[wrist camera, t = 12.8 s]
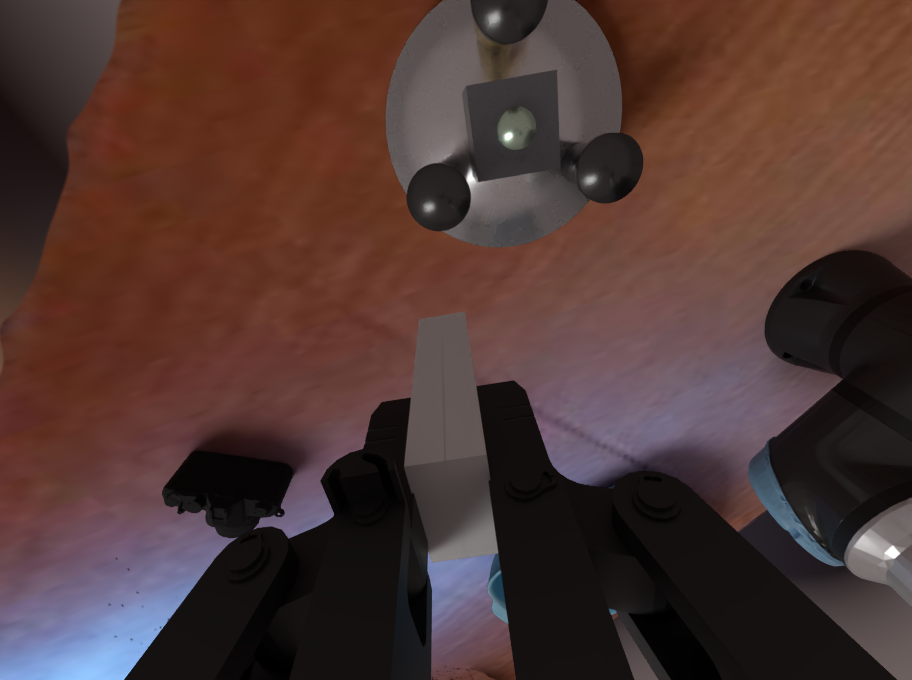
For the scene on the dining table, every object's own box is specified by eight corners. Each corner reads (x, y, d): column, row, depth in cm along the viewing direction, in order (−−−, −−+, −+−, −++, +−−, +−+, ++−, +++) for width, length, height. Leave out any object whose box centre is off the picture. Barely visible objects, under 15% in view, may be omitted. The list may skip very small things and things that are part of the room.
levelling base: (616, -37, 34) (679, -99, 25) (611, 224, 44) (655, 247, 35) (362, 10, 35) (336, -33, 26) (413, 257, 45) (407, 287, 36)
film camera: (189, 494, 60) (150, 550, 52) (186, 444, 55) (144, 496, 47) (294, 508, 62) (273, 564, 54) (299, 461, 58) (277, 514, 50)
